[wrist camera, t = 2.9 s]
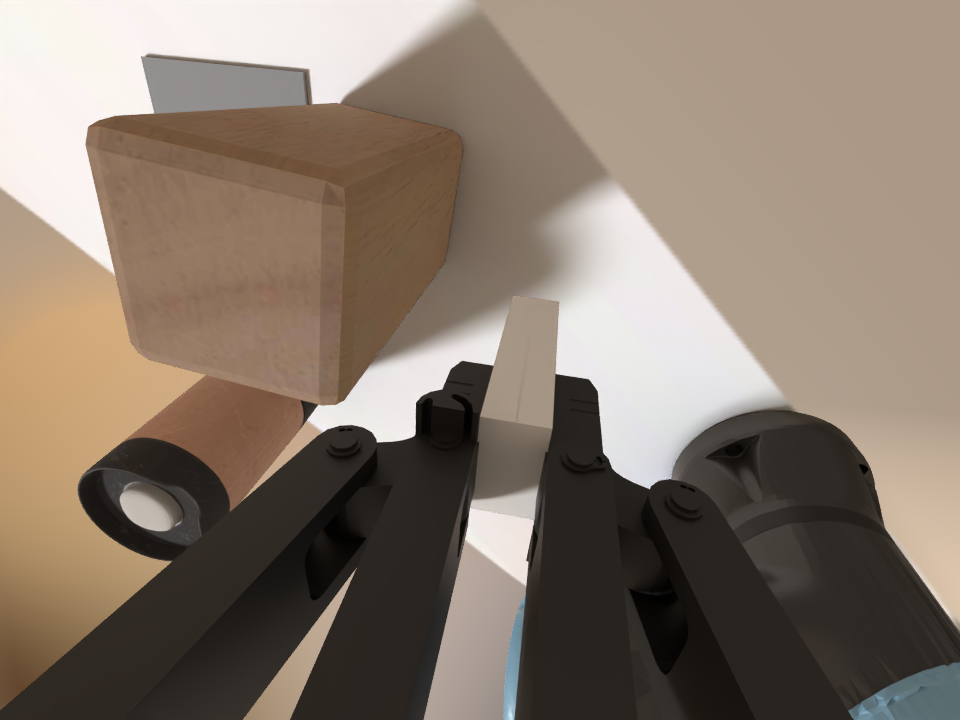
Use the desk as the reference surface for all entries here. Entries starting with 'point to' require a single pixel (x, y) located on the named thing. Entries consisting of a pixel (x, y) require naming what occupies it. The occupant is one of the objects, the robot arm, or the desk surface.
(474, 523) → the desk surface
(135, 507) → the travel mug
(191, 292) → the block
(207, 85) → the mat
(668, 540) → the robot arm
